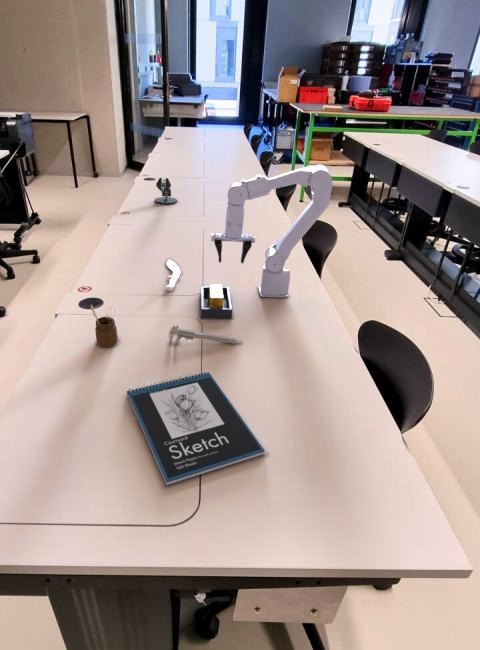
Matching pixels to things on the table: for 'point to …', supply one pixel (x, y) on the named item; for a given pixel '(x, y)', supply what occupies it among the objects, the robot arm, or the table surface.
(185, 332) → the caliper
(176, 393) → the sketchbook
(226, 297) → the case
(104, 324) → the utensil holder
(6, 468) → the table surface
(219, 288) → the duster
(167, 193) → the dark grey upright piece
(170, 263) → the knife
